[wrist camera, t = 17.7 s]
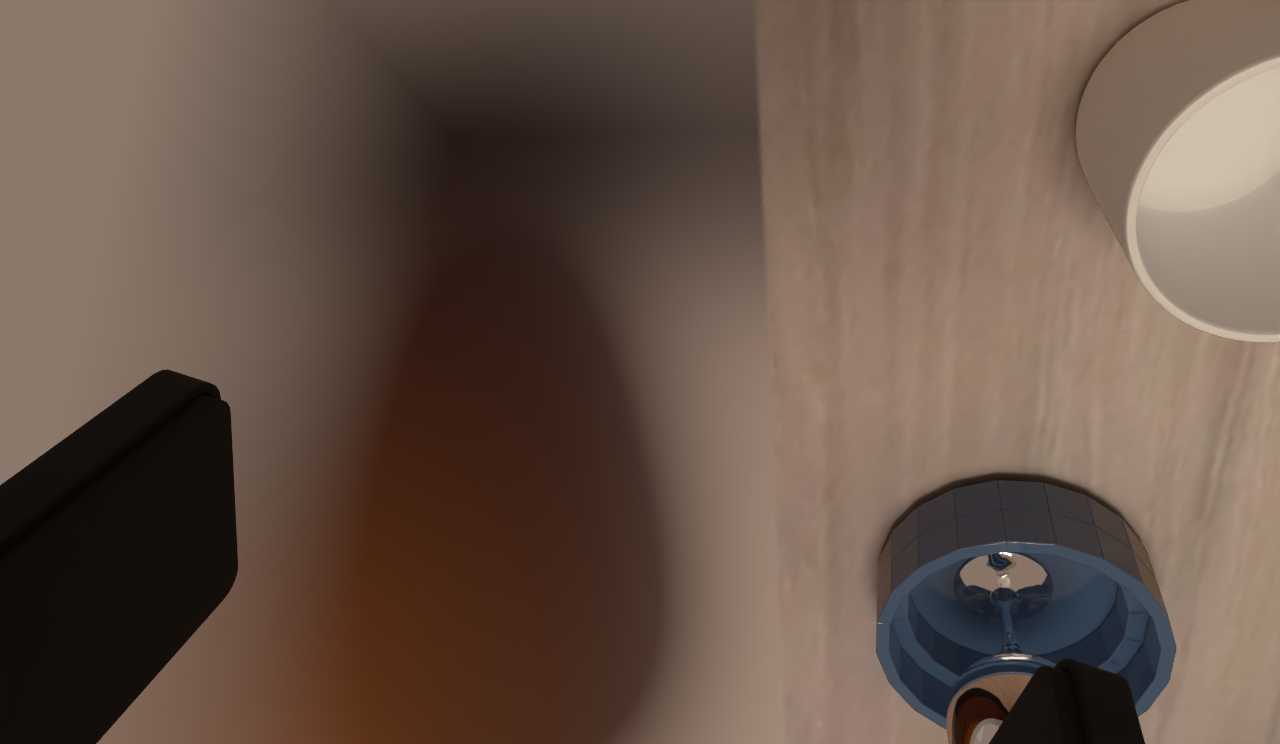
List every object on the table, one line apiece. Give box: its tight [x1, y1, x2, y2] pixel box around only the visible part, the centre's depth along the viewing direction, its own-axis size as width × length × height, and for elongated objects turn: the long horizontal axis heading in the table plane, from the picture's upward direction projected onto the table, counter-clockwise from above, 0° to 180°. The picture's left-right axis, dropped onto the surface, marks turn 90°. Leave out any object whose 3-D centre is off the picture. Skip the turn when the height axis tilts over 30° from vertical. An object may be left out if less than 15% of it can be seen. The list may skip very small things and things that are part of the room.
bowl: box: [876, 480, 1176, 730], centre depth 43 cm, size 12×12×5 cm
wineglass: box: [946, 552, 1057, 744], centre depth 40 cm, size 6×6×12 cm
